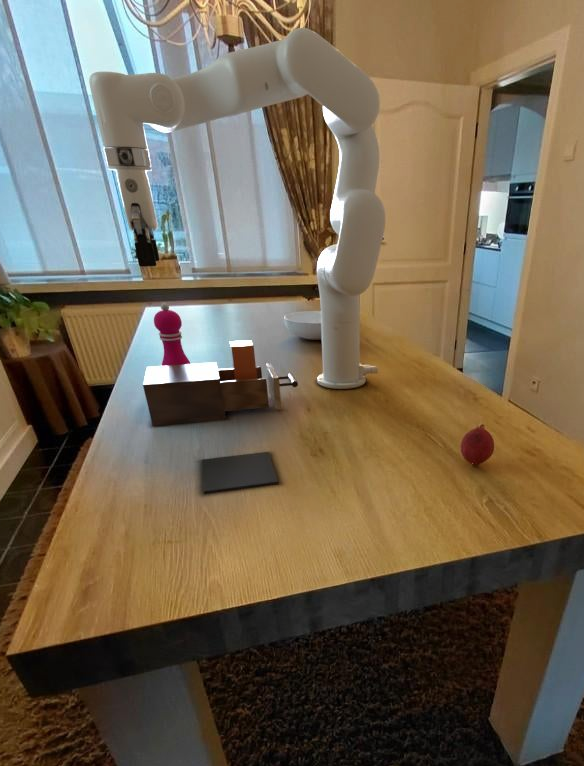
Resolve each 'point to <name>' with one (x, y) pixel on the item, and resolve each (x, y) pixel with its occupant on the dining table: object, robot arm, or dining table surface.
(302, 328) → the serving bowl
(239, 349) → the tall orange-brown block
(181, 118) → the robot arm
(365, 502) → the dining table surface
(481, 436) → the onion
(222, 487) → the mat
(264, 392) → the drawer
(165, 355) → the pepper mill
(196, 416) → the cabinet
